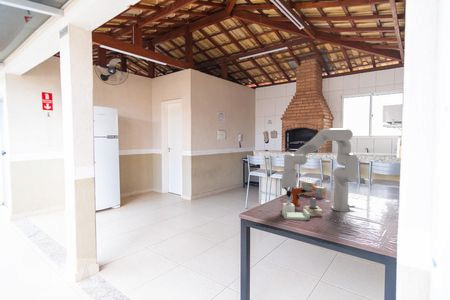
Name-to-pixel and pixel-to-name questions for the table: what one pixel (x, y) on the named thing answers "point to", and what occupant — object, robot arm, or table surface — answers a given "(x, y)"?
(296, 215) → the tray
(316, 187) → the stack of blocks
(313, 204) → the grey round peg
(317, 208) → the socket
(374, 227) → the table surface
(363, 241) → the table surface
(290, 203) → the grey ball-topped peg
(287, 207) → the housing
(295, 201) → the toy drill
